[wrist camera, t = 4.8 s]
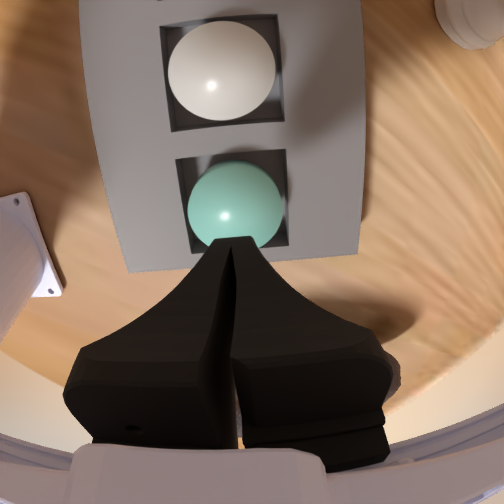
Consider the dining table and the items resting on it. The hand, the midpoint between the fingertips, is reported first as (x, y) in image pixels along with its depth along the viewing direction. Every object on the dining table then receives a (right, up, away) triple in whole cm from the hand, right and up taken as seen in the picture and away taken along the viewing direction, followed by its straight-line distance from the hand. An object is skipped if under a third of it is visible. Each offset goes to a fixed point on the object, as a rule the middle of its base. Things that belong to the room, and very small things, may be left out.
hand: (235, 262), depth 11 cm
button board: (-1, +9, +3) cm, 10 cm away
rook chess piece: (+13, +14, +1) cm, 19 cm away
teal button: (0, +3, +5) cm, 5 cm away
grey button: (-1, +8, +1) cm, 8 cm away
